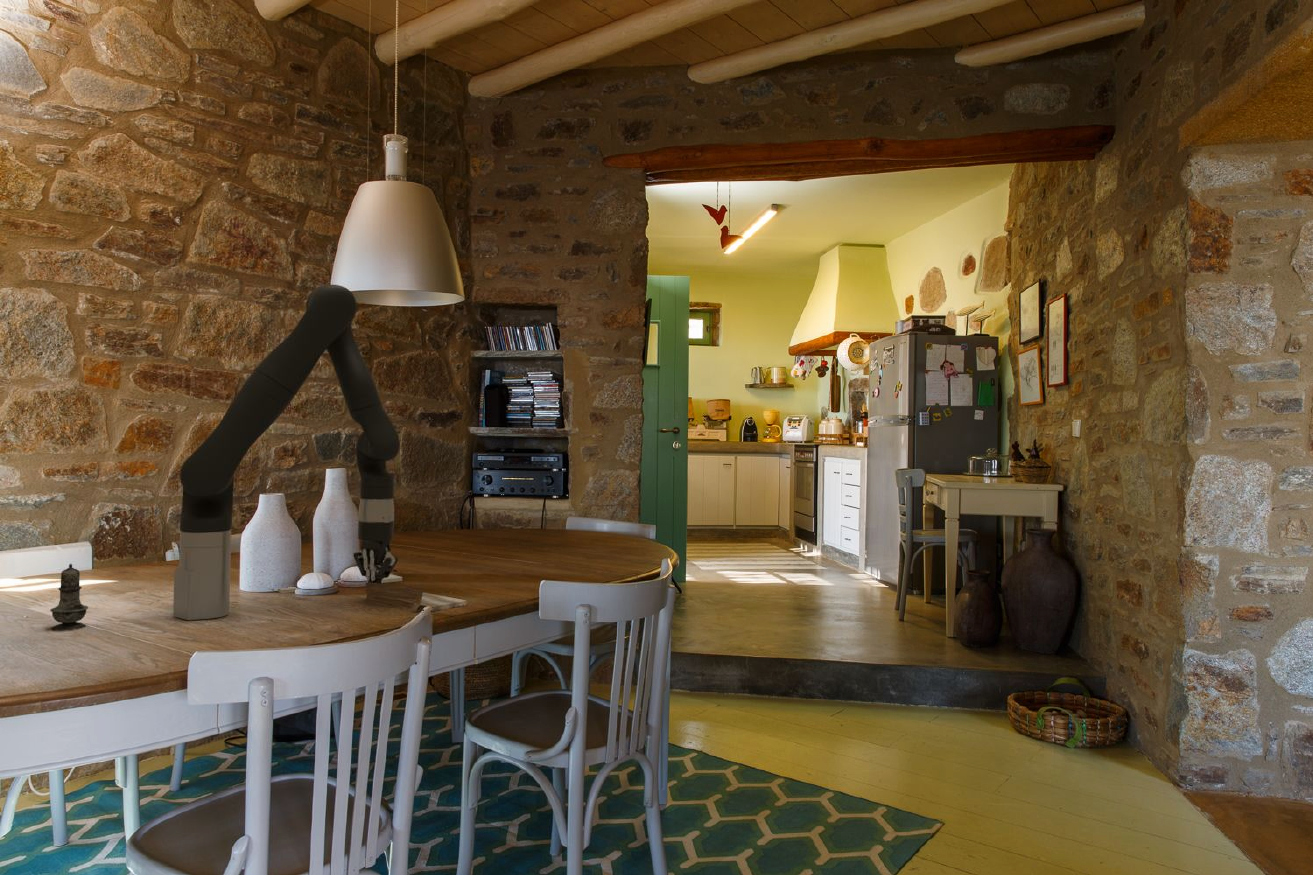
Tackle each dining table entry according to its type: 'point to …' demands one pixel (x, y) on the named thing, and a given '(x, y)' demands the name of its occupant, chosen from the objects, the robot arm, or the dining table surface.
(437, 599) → the floor panel
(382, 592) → the driftwood piece
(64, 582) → the salt shaker
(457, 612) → the dining table surface
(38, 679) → the dining table surface
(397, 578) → the baseboard
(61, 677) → the dining table surface
